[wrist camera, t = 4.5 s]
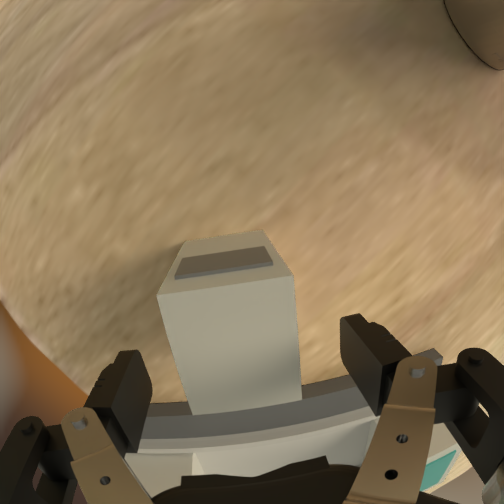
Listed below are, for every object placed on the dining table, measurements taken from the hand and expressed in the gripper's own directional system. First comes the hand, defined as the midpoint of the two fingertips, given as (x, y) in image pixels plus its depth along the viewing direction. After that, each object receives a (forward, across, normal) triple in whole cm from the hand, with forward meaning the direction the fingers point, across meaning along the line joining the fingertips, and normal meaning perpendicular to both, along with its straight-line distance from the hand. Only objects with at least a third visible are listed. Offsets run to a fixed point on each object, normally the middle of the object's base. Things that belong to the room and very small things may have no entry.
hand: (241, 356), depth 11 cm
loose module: (+7, 0, -1) cm, 7 cm away
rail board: (+7, -2, +15) cm, 17 cm away
